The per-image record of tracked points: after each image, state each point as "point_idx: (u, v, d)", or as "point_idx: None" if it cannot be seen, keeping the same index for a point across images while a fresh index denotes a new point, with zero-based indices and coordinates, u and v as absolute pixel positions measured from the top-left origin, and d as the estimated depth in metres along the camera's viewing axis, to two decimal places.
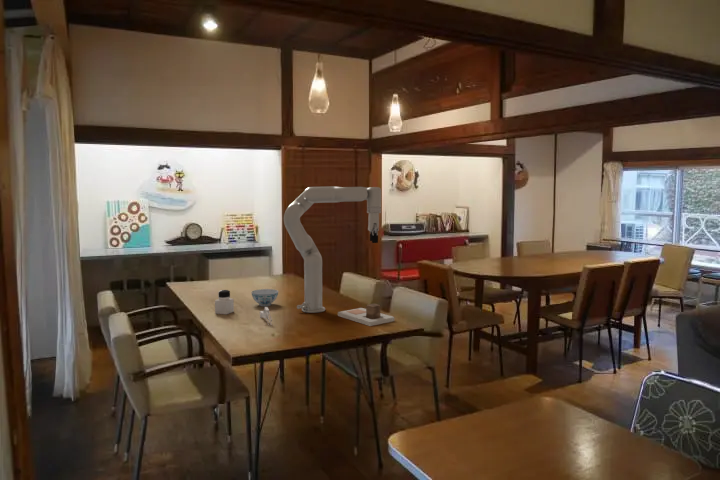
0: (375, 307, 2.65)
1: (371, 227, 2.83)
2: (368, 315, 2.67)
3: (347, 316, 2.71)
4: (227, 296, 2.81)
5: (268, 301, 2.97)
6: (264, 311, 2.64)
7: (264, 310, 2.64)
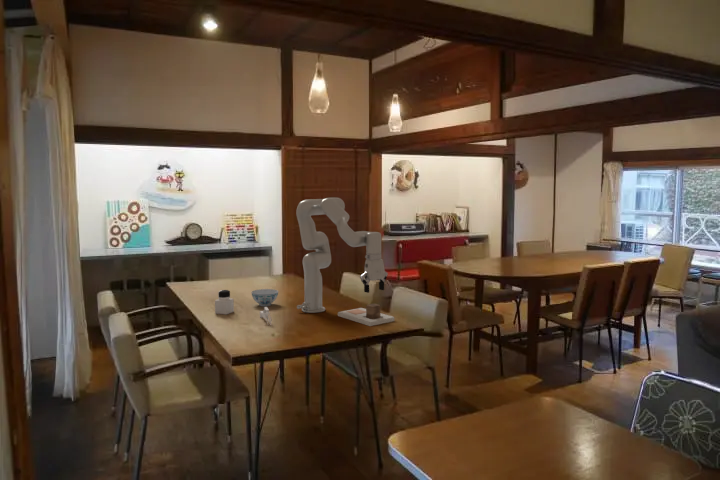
0: (375, 307, 2.65)
1: None
2: (368, 315, 2.67)
3: (347, 316, 2.71)
4: (227, 296, 2.81)
5: (268, 301, 2.97)
6: (264, 311, 2.65)
7: (264, 310, 2.64)
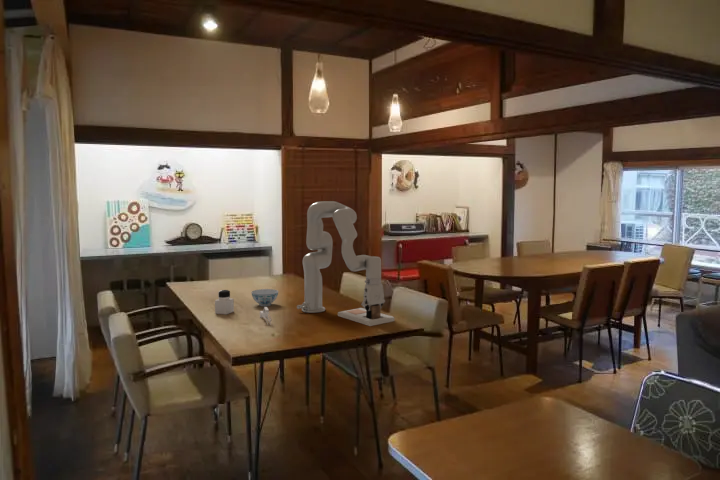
0: (375, 307, 2.65)
1: None
2: None
3: (347, 316, 2.71)
4: (227, 296, 2.81)
5: (268, 301, 2.97)
6: (264, 311, 2.65)
7: (264, 310, 2.65)
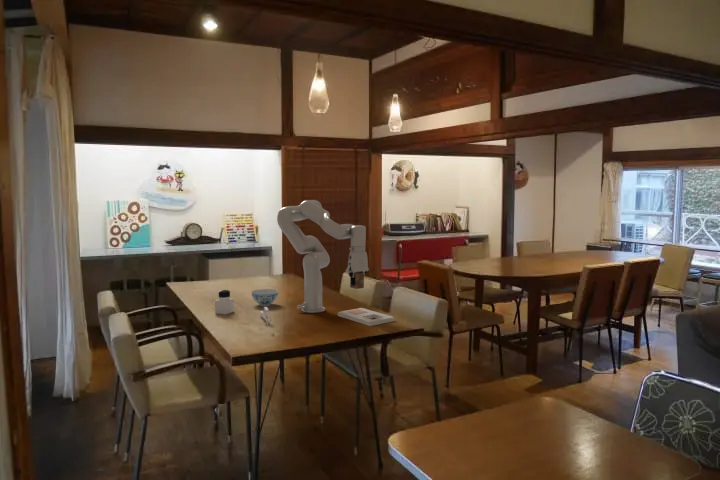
0: (359, 274, 2.73)
1: None
2: None
3: (347, 316, 2.71)
4: (227, 296, 2.81)
5: (268, 301, 2.97)
6: (264, 311, 2.65)
7: (264, 310, 2.65)
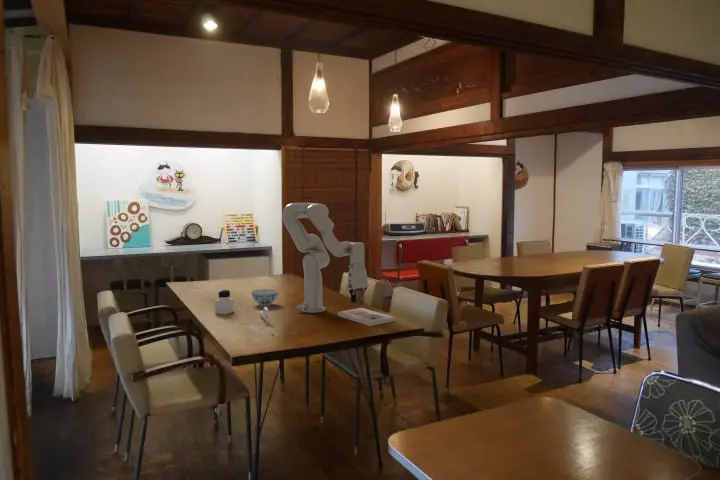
0: (359, 291, 2.74)
1: None
2: None
3: (347, 316, 2.71)
4: (227, 296, 2.81)
5: (268, 301, 2.97)
6: (263, 311, 2.65)
7: (263, 310, 2.65)
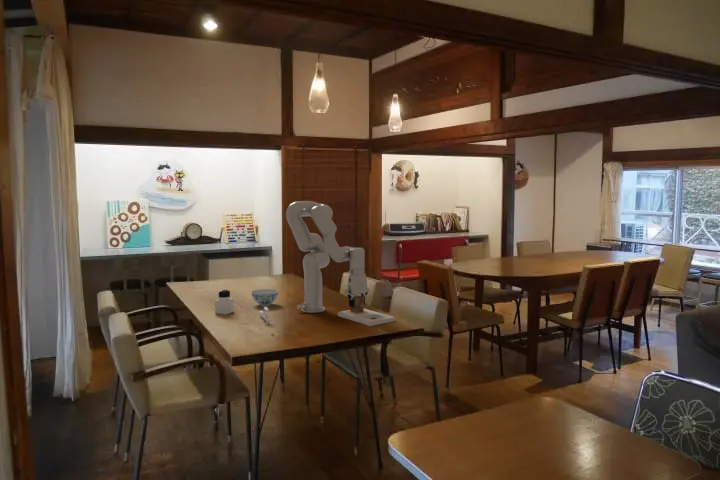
0: (358, 298, 2.75)
1: None
2: None
3: (347, 316, 2.71)
4: (227, 296, 2.81)
5: (268, 301, 2.97)
6: (263, 311, 2.65)
7: (263, 310, 2.65)
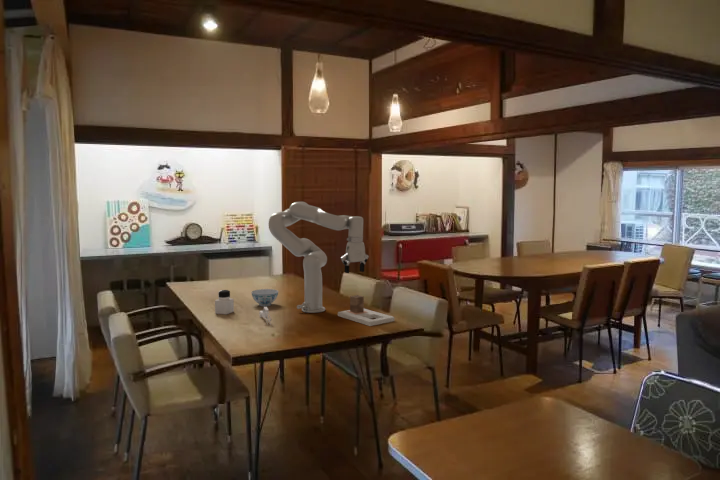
0: (358, 298, 2.75)
1: None
2: (352, 306, 2.77)
3: (347, 316, 2.71)
4: (227, 296, 2.81)
5: (268, 301, 2.97)
6: (263, 311, 2.65)
7: (263, 310, 2.65)
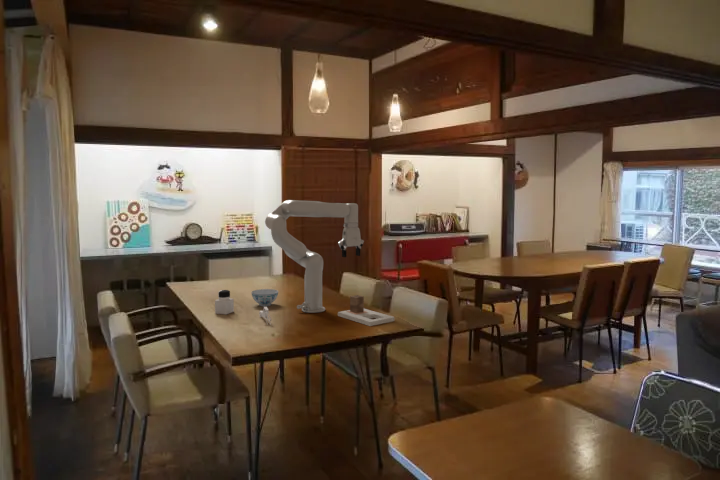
0: (358, 298, 2.75)
1: None
2: (352, 306, 2.77)
3: (347, 316, 2.71)
4: (227, 296, 2.81)
5: (268, 301, 2.97)
6: (263, 311, 2.65)
7: (263, 310, 2.65)
